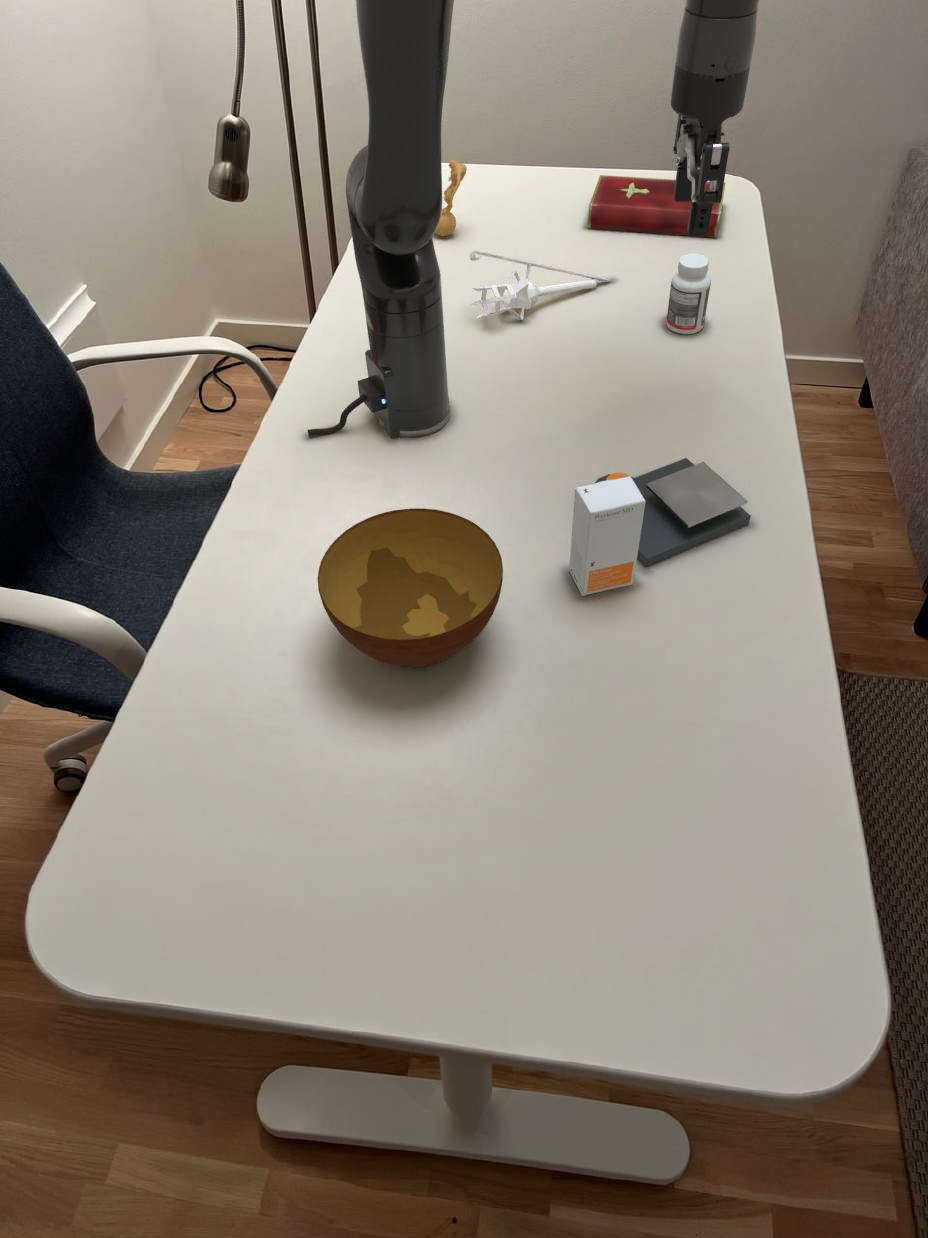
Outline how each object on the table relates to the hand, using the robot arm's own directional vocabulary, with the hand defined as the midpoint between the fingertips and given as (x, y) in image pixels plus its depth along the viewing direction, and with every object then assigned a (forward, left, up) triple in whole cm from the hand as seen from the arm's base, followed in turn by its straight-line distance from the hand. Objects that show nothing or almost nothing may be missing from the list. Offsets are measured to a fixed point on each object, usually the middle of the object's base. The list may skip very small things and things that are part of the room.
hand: (689, 216), depth 107 cm
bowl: (-48, -24, -23) cm, 58 cm away
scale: (-15, -21, -23) cm, 34 cm away
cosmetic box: (-27, -26, -23) cm, 44 cm away
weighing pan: (-12, -22, -20) cm, 32 cm away
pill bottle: (+11, +11, -23) cm, 28 cm away
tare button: (-19, -17, -20) cm, 33 cm away
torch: (-4, +26, -23) cm, 35 cm away
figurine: (-5, +54, -23) cm, 59 cm away
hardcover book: (+27, +41, -23) cm, 54 cm away
